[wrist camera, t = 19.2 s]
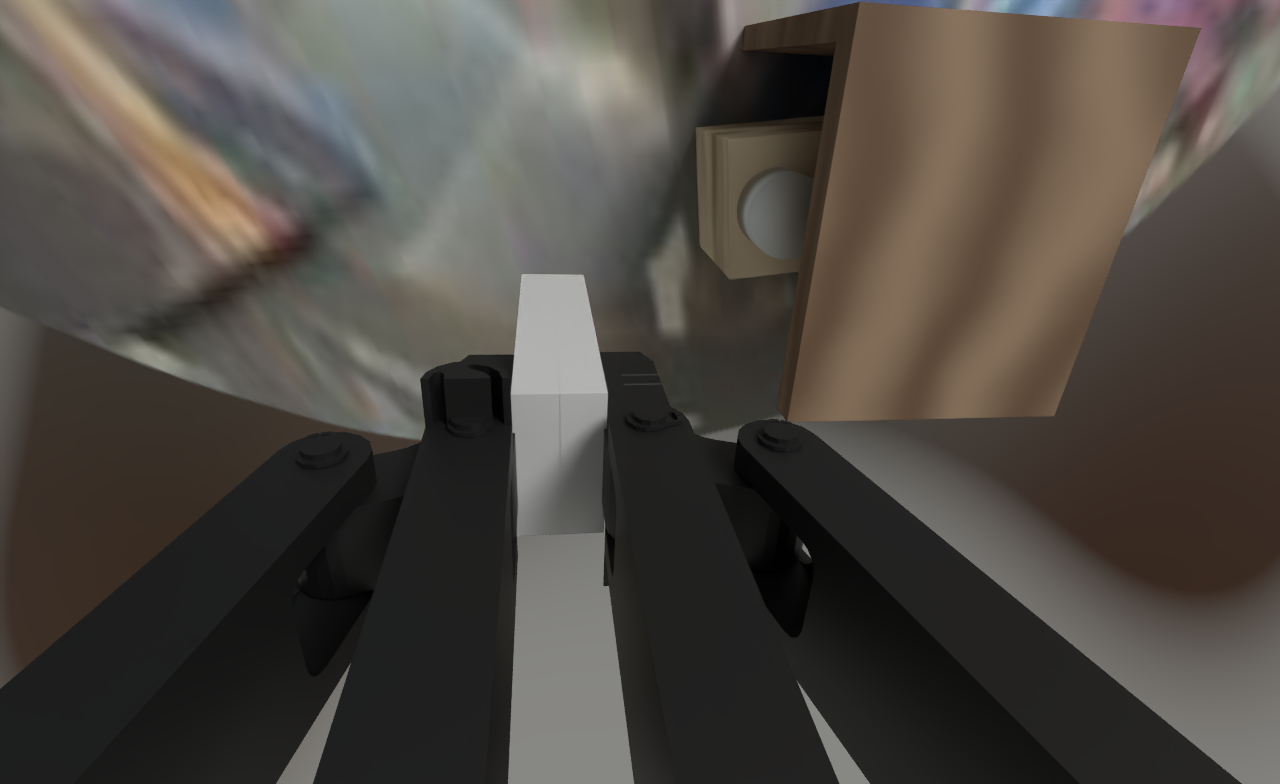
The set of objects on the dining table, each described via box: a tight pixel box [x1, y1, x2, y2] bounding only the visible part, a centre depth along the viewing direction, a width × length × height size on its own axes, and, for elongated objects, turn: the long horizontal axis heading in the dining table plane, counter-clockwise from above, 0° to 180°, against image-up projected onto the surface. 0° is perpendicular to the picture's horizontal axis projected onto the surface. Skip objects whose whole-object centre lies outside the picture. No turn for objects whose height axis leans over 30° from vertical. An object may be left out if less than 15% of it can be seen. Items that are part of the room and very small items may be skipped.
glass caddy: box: [696, 116, 824, 280], centre depth 35 cm, size 10×7×10 cm
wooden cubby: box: [742, 2, 1201, 422], centre depth 34 cm, size 14×17×14 cm
